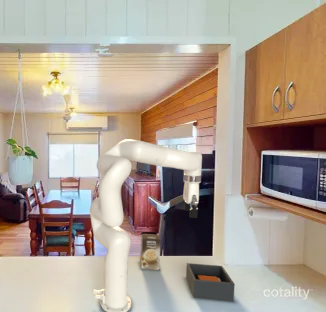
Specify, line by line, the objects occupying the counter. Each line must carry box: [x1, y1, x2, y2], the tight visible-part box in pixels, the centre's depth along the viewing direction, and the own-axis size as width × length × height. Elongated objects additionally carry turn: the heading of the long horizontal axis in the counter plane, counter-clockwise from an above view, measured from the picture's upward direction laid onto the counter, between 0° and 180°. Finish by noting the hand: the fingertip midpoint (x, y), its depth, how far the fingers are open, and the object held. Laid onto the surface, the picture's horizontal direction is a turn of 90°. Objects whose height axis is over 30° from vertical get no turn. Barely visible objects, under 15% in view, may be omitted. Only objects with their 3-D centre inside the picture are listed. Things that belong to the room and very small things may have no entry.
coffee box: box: [139, 233, 162, 271], centre depth 125 cm, size 9×6×16 cm
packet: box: [198, 275, 221, 282], centre depth 107 cm, size 9×5×4 cm, turn 81°
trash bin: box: [185, 262, 236, 303], centre depth 107 cm, size 16×14×8 cm
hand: (190, 213), depth 116 cm, fingers open, 9 cm apart
